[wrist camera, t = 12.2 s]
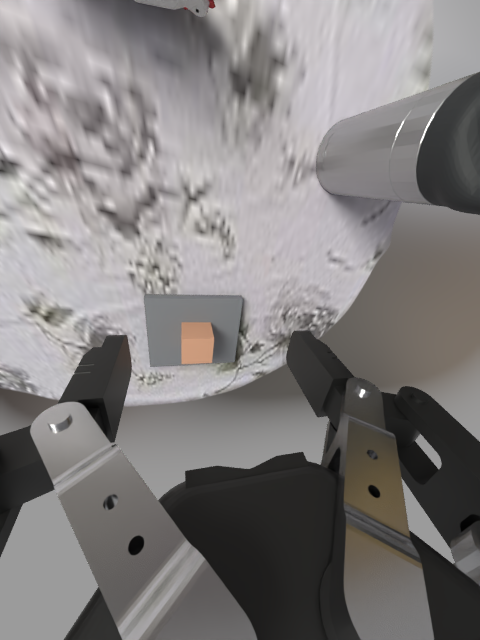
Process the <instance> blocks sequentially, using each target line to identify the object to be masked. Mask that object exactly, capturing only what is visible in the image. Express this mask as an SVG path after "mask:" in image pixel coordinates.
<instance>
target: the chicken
mask: <svg viewBox="0 0 480 640" xmlns="http://www.w3.org/2000/svg"><path fill="white" fill-rule="evenodd" d="M134 1H135V2H137V3H142V4H148V5H153V6H158V7H163V8H168V9H173V10H175V9H179V8H184V9H185V10H186V9H189V10H190V11H191V12H193V13H194V14H195V15H197V16H199V17H204V16H206V15H207V12H208V8H212V9H213V8H214V7H215V4H214V1H213V0H134Z"/></svg>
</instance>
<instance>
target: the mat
mask: <svg viewBox="0 0 480 640" xmlns="http://www.w3.org/2000/svg"><path fill="white" fill-rule="evenodd" d="M242 302H243V299H242V297H241V296H232V295H160V294H145V296H144V304H145V315H146V326H147V336H148V347H149V357H150V367H157V366H174V365H192V364H182V360H181V324H182V322H211V326H212V331H213V335H214V347H213V357H212V363H226V362H235V355H236V347H237V340H238V332H239V325H240V317H241V310H242ZM197 364H209V363H197Z"/></svg>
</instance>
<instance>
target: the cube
mask: <svg viewBox="0 0 480 640" xmlns="http://www.w3.org/2000/svg"><path fill="white" fill-rule="evenodd" d="M213 347H214V335H213V331H212V326H211V322H182V324H181V360H182V364H197V363H212V357H213Z"/></svg>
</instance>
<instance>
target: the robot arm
mask: <svg viewBox="0 0 480 640" xmlns="http://www.w3.org/2000/svg"><path fill="white" fill-rule="evenodd" d="M316 171H317V176H318V179H319V182H320V184H321V185H322V187H323V188H324V189H325V190H326V191H328V192H329V193H332V194H336V195H344V196H352V197H361V198H370V199H379V200H388V201H398V202H407V203H418V204H427V205H437V206H446V207H449V208H451V209H453V210H456V211H460V212H465V213H471V214H478V215H480V72H478V73H475V74H472V75H469V76H466V77H464V78H461V79H458V80H455V81H452V82H449V83H446V84H444V85H441V86H438V87H436V88H433V89H430V90H427V91H424V92H421V93H418V94H415V95H413V96H410V97H407V98H404V99H401V100H398V101H395V102H393V103H390V104H387V105H384V106H381V107H378V108H375V109H373V110H370V111H367V112H364V113H361V114H358V115H355V116H353V117H350V118H347V119H344V120H342V121H340V122H338V123H337V124H335V125H334V126H333V127H332V128H331V129H330V130H329V131H328V133H327V134H326V135H325V137H324V138H323V141H322V143H321V145H320V147H319V151H318V154H317V160H316ZM286 360H287V364H288V367H289V368H290V370H291V372H292V373H293V375H294V377H295V379H296V380H297V382H298V384H299V386H300V387H301V389H302V391H303V393H304V394H305V396H306V398H307V400H308V402H309V403H310V405H311V407H312V409H313V410H314V412H315V414H316V415H317V417H324V416H328V418H329V422H328V424H327V430H326V437H325V444H324V450H323V456H322V461H321V465H319V464H316V463H312V462H308V461H307V460H306V458H305V456H304V453H303V452H299V453H293V454H286V455H281V456H276V457H274V458H272V459H270V460H268V461H266V462H264V463H262V464H260V465H258V466H256V467H254V468H251V469H241V468H232V467H222V466H213V467H207V468H201V469H195V470H189V471H185V476H186V477H185V478H186V481H185V482H183V483H181V484H178V485H177V486H175V487H174V488H172V489H171V490H169V491H168V492H167V493H166V494H164V495H163V496H162V497H161V498H160V499H159V500H157V498H156V497H155V495H154V494H153V493H152V491H151V490H150V489H149V487H148V486H147V485H146V483H145V482H144V480H143V479H142V478H141V476H140V475H139V473H138V472H137V471H136V470H135V468H134V467H133V465H132V464H131V462H129V460H128V458H127V457H126V456H125V455H124V453H123V451H122V450H121V449H120V448H119V447H118V446H117V445H116V444H115V445H112V444H111V443H112V442H115V438H116V434H117V430H118V426H119V422H120V418H121V414H122V410H123V406H124V401H125V397H126V393H127V389H128V385H129V381H130V377H131V370H132V364H131V357H130V350H129V344H128V338H127V335H109V336H107V337H106V339H105V341H104V343H103V345H102V347H95V348H92V349H91V350H90V351H89V352H87V353H86V354H85V355H84V356H83V358H82V359H81V361H80V363H79V367H77V369H76V371H75V372H74V373H75V374H73V376H72V378H71V380H70V382H69V384H68V385H67V387H66V389H65V391H64V393H63V395H62V397H61V399H60V400H59V402H58V404H57V405H55V406H52V407H50V408H49V409H47V410H45V411H44V412H43V413H41V414H40V415H39V416H38V417H37V418H36V419H35V420H34V422H33V424H32V425H30V426H28V427H25V428H23V429H19V430H17V431H13V432H10V433H7V434H4V435H1V436H0V557H1V554H2V552H3V550H4V547H5V545H6V542H7V540H8V538H9V535H10V533H11V531H12V528H13V526H14V524H15V521H16V519H17V516H18V514H19V512H20V509H21V507H22V505H23V503H25V502H28V501H30V500H32V499H34V498H37V497H39V496H41V495H43V494H46V493H48V492H50V491H52V490H55V491H56V494H57V495H58V498H59V500H60V502H61V505H62V507H63V509H64V511H65V513H66V516H67V518H68V520H69V522H70V524H71V527H72V529H73V531H74V533H75V535H76V538H77V540H78V542H79V544H80V546H81V549H82V551H83V553H84V555H85V557H86V560H87V562H88V564H89V566H90V569H91V571H92V573H93V575H94V577H95V580H96V582H97V584H98V586H99V587H98V589H97V590H96V592H95V593H94V595H93V596H92V598H91V599H90V601H89V602H88V604H87V605H86V607H85V608H84V610H83V611H82V613H81V614H80V616H79V617H78V619H77V620H76V622H75V623H74V625H73V627H72V628H71V630H70V631H69V633H68V634H67V636H66V637H65V639H64V640H480V442H479V441H478V440H477V439H476V438H475V437H474V436H473V435H472V434H471V433H469V432H468V431H467V430H466V429H465V428H464V427H463V426H462V425H461V424H460V423H459V422H458V421H456V419H454V418H453V417H452V416H451V415H450V414H449V413H448V412H447V411H446V410H445V409H444V408H443V407H442V406H440V405H439V404H438V403H437V402H436V401H435V400H434V399H433V398H432V397H431V396H429V395H428V394H427V393H425V392H423V391H421V390H419V389H416V388H414V387H408V386H405V387H402V388H401V389H400V390H399V392H398V393H397V395H396V394H390V393H384V392H380V390H379V389H378V388H377V387H376V386H375V385H374V384H372V383H371V382H369V381H367V380H365V379H362V378H356V377H354V376H353V375H352V374H351V372H350V371H349V370H348V369H347V368H346V367H345V366H344V364H343V363H342V362H341V361H340V360H339V359H337V356H336V355H335V354H334V353H332V351H331V350H330V348H329V347H328V346H327V345H325V344H324V343H323V342H321V341H320V340H318V339H316V338H315V337H314V336H313V335H312V333H311V332H310V331H308V330H306V331H294V332H293V333H292V336H291V340H290V343H289V347H288V351H287V355H286ZM419 434H421V435H422V436H423V437H424V438H425V439H426V440H427V442H428V443H429V444H430V445H431V446H432V447H433V448H434V450H435V451H436V452H437V453H438V454H439V456H440V458H441V462H442V466H441V468H440V469H438V468H437V467H436V466H435V465H434V463H433V462H432V461H431V460H430V459H429V458H428V456H427V455H426V454H425V453H424V451H423V450H422V449H421V448H420V447H419V445H417V443H416V442H415V440H416V438H417V437H418V436H419ZM401 477H402V478H401ZM402 479H403V480H404V481H405V483H406V485H407V486H408V487H409V489H410V490H411V492H412V493H413V495H414V496H415V498H416V499H417V501H418V502H419V504H420V505H421V507H422V508H423V509H424V511H425V512H426V514H427V515H428V517H429V518H430V520H431V521H432V523H433V524H434V526H435V527H436V528H437V530H438V531H439V533H440V534H441V536H442V537H443V539H444V540H445V541H446V543H447V545H448V546H449V547H450V549H451V553H452V556H453V559H454V561H455V563H454V564H452V563H451V562H449V561H448V560H447V559H446V558H444V557H443V556H442V555H440V554H439V553H438V552H437V551H435V550H434V549H433V548H431V547H430V546H429V545H428V544H426V543H425V542H424V541H423V540H421V539H420V538H419V537H417V536H416V535H415V534H414V533H412V532H411V531H409V527H408V520H407V513H406V506H405V499H404V493H403V485H402Z"/></svg>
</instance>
